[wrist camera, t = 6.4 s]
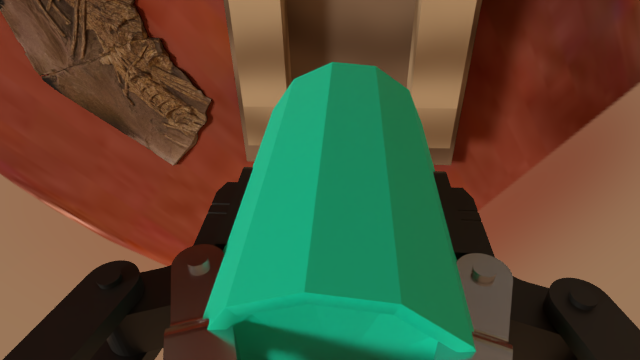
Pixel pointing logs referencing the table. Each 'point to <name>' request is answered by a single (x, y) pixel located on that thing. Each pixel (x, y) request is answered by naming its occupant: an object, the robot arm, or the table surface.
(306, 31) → the board
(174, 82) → the wooden fragment
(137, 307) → the robot arm
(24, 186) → the table surface
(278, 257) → the candle
